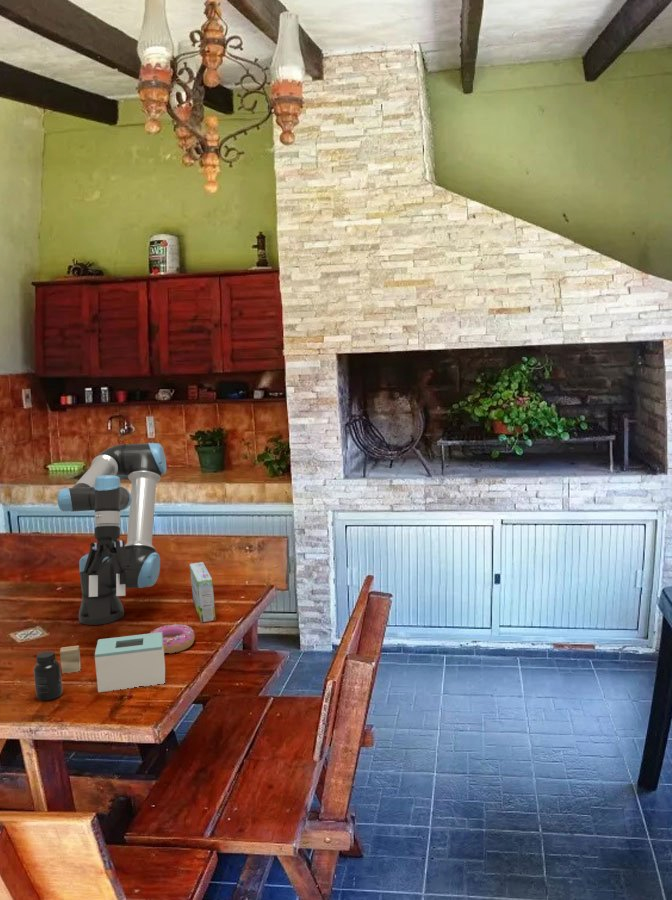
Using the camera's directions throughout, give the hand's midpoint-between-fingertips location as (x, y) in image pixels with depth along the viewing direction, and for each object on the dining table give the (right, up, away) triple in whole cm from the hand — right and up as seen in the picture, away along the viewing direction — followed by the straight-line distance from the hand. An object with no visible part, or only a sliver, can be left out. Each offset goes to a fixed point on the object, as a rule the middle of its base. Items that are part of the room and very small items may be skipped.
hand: (106, 596), depth 236 cm
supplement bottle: (-9, -23, -21) cm, 33 cm away
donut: (+18, -18, +9) cm, 27 cm away
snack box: (+23, -13, +38) cm, 46 cm away
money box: (+11, -21, -14) cm, 28 cm away
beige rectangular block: (-9, -21, -6) cm, 23 cm away
